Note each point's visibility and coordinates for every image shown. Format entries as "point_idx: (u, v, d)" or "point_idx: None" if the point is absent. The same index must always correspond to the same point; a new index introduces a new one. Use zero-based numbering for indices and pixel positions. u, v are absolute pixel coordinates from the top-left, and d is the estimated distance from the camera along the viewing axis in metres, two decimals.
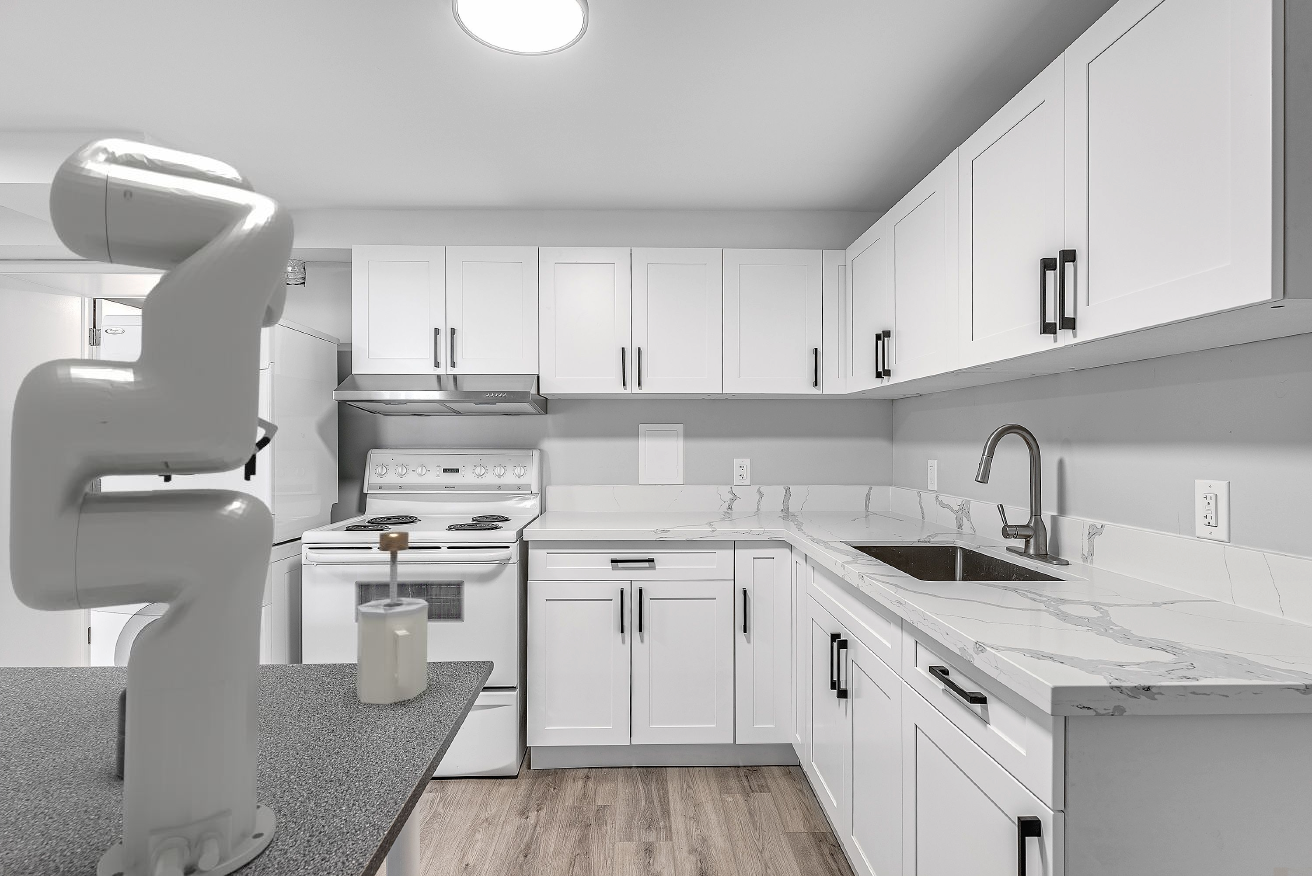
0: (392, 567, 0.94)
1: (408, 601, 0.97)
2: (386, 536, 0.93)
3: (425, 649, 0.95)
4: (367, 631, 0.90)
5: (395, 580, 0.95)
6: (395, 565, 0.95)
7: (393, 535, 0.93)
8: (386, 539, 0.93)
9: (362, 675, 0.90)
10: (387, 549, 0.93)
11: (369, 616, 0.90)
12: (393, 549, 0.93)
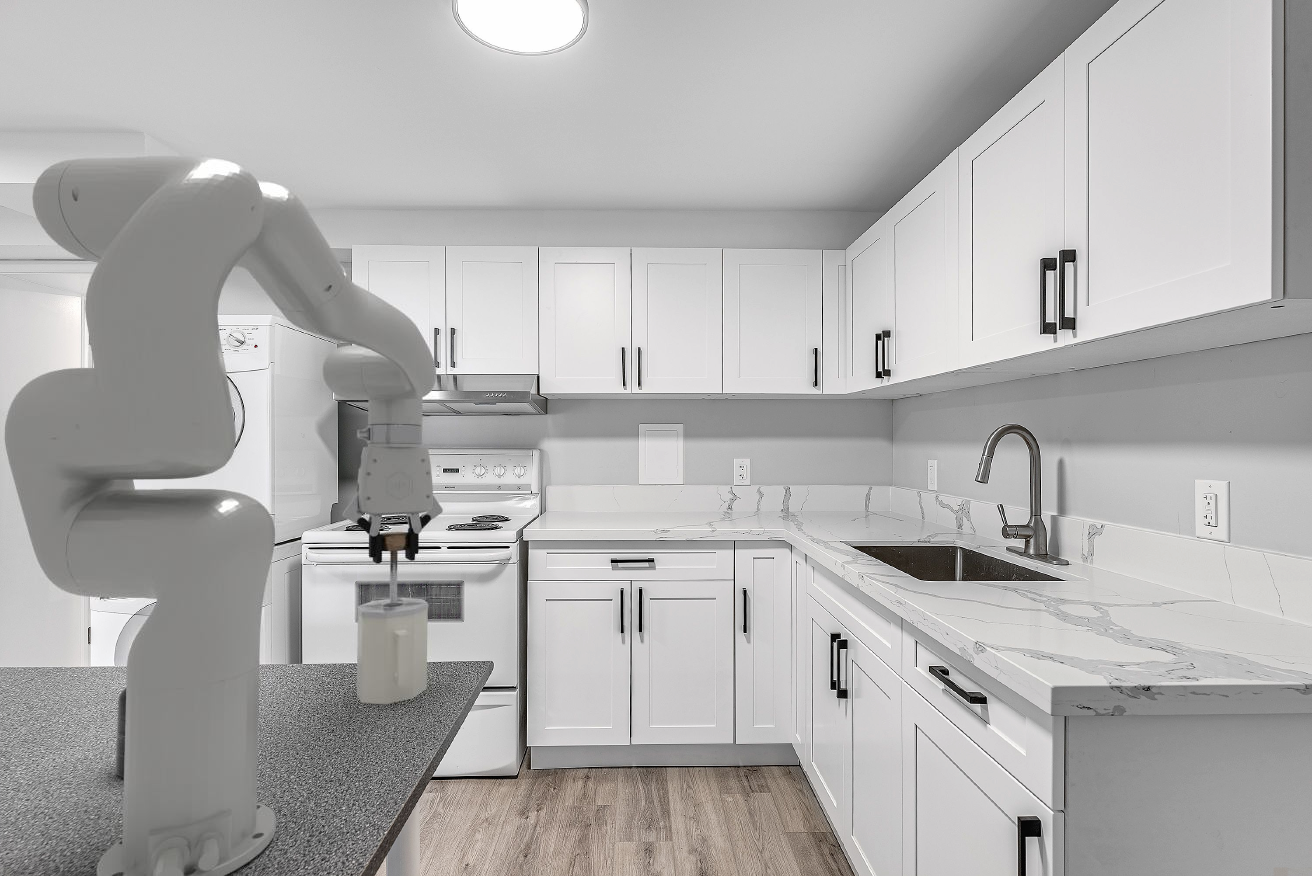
0: (392, 567, 0.94)
1: (408, 601, 0.97)
2: (386, 536, 0.93)
3: (425, 649, 0.95)
4: (367, 631, 0.90)
5: (395, 580, 0.95)
6: (395, 565, 0.95)
7: (393, 535, 0.93)
8: (386, 539, 0.93)
9: (362, 675, 0.90)
10: (387, 549, 0.93)
11: (369, 616, 0.90)
12: (393, 549, 0.93)
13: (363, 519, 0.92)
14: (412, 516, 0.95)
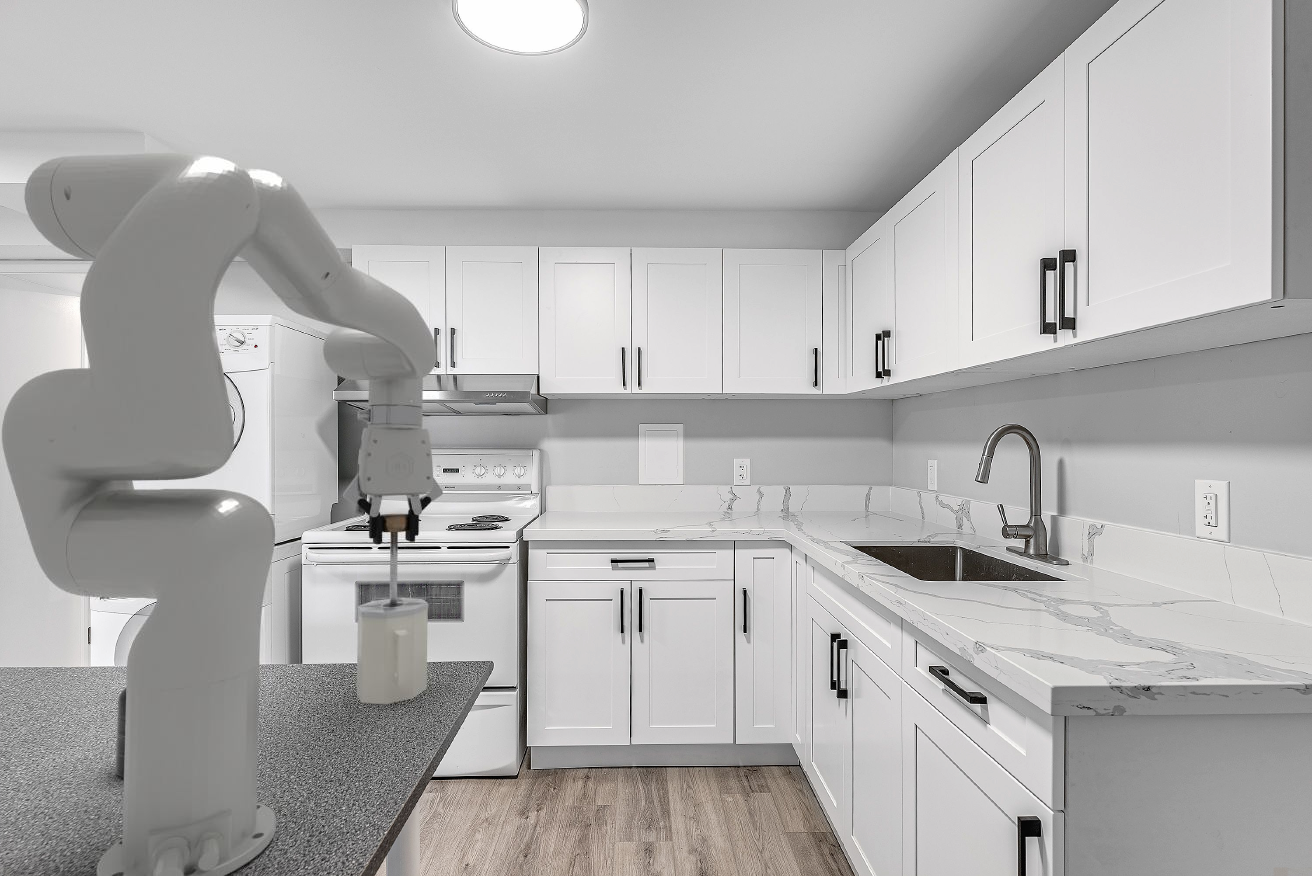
0: (392, 548, 0.95)
1: (408, 601, 0.97)
2: (386, 517, 0.93)
3: (425, 649, 0.95)
4: (367, 631, 0.90)
5: (395, 561, 0.95)
6: (395, 546, 0.95)
7: (393, 516, 0.93)
8: (386, 520, 0.93)
9: (362, 675, 0.90)
10: (387, 530, 0.93)
11: (369, 616, 0.90)
12: (393, 530, 0.93)
13: (363, 500, 0.92)
14: (412, 497, 0.95)
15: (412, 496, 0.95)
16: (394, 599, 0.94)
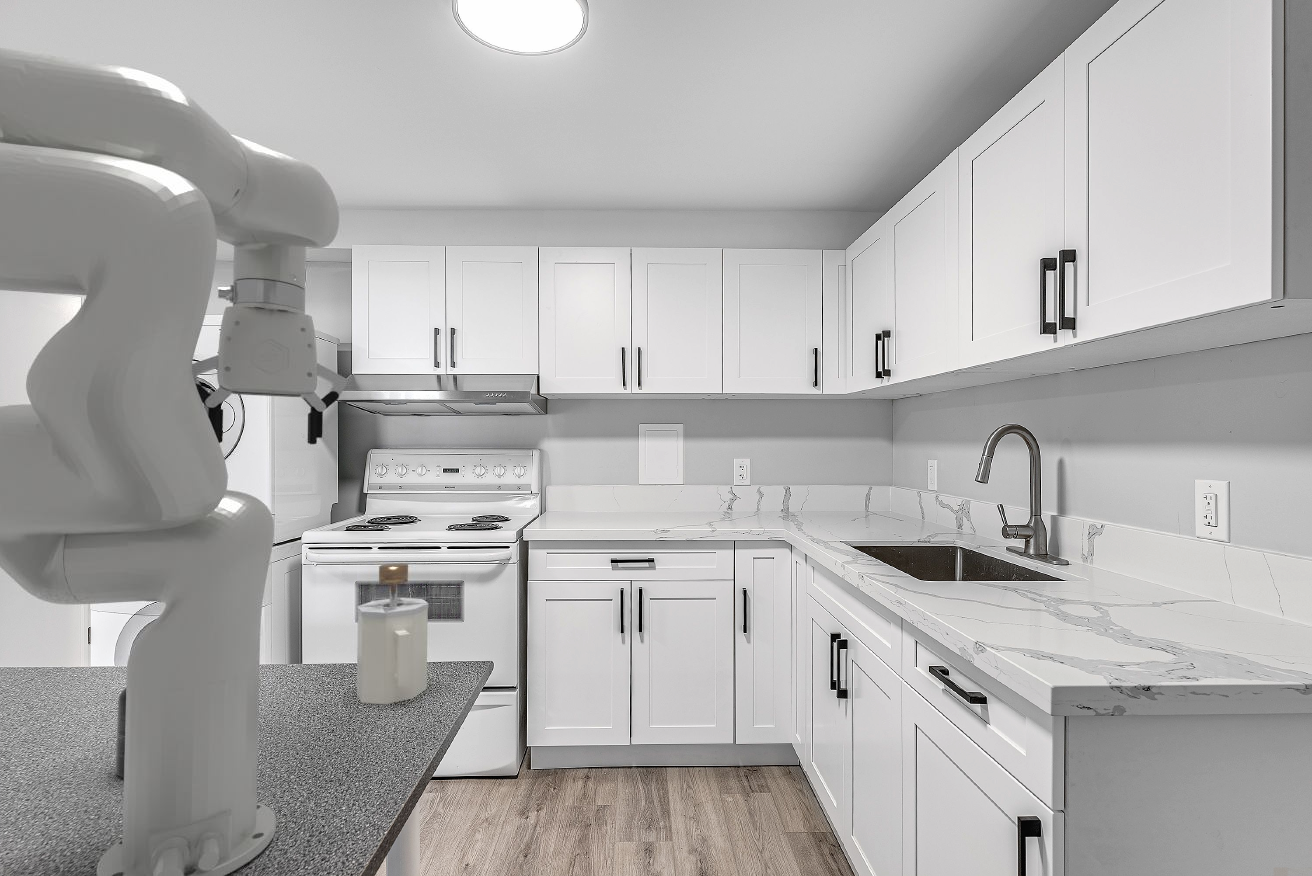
0: (392, 600, 0.94)
1: (408, 601, 0.97)
2: (386, 569, 0.93)
3: (425, 649, 0.95)
4: (367, 631, 0.90)
5: None
6: (395, 598, 0.94)
7: (393, 568, 0.93)
8: (386, 572, 0.93)
9: (362, 675, 0.90)
10: (387, 582, 0.93)
11: (369, 616, 0.90)
12: (393, 582, 0.93)
13: (197, 385, 0.72)
14: (305, 395, 0.78)
15: (304, 393, 0.78)
16: None
